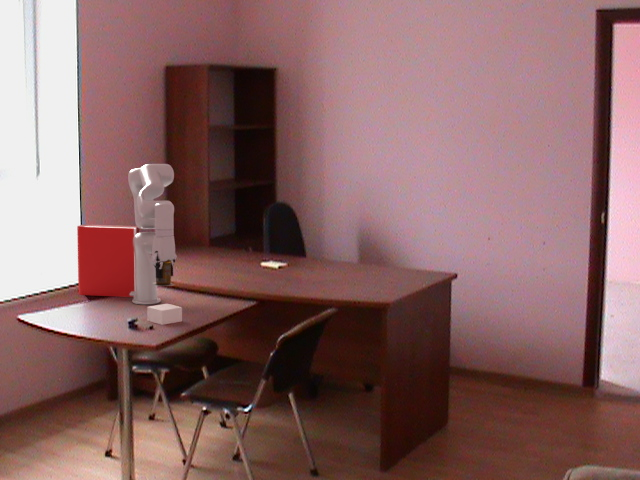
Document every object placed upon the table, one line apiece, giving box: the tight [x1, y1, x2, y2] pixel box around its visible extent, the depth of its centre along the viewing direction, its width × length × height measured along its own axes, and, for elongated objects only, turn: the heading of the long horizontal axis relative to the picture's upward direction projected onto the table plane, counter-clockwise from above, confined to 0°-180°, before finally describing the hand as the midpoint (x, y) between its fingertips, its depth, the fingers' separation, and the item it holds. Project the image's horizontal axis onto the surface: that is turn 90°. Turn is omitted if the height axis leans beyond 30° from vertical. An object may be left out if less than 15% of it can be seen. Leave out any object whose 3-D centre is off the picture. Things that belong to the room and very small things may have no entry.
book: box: [76, 224, 140, 298], centre depth 426 cm, size 27×8×32 cm, turn 84°
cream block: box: [146, 303, 183, 326], centre depth 375 cm, size 10×10×6 cm
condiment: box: [153, 259, 175, 287], centre depth 372 cm, size 7×8×12 cm
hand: (164, 276), depth 373 cm, fingers closed on condiment, 6 cm apart
